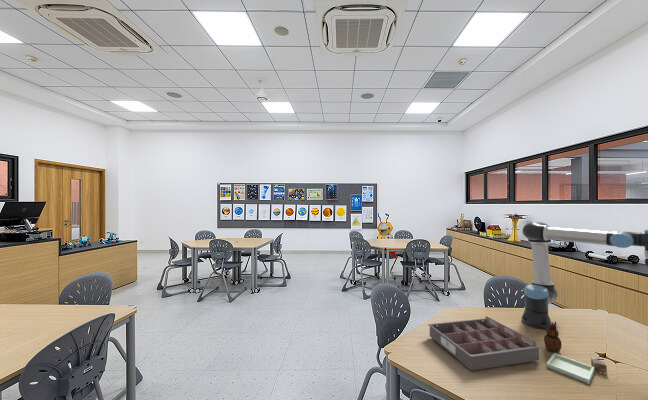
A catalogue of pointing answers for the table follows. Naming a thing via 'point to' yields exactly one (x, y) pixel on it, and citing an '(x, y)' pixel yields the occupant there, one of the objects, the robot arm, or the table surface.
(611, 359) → the table surface
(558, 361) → the green tray
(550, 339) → the wooden figurine
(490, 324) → the organizer tray
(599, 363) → the walnut cube
